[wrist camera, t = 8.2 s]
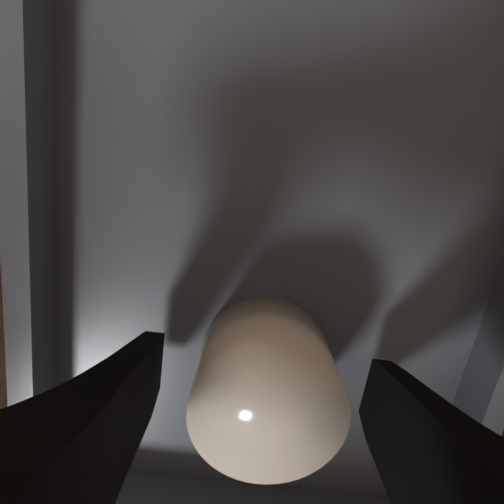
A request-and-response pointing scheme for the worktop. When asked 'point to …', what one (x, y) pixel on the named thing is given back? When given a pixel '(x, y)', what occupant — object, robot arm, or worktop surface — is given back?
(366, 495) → the parts tray
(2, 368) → the worktop surface
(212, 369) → the pebble
